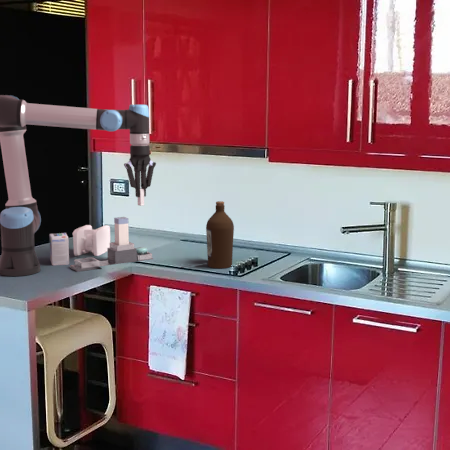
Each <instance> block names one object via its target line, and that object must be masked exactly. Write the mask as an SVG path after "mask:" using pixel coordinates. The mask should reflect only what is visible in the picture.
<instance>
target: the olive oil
mask: <svg viewBox="0 0 450 450" xmlns="http://www.w3.org/2000/svg"><path fill="white" fill-rule="evenodd" d="M205 230H206V231H205V233H206V248H207V249H206V250H207V252H206V254H207V266H208V267H209V268H211V269H221V270H222V269H228V268H231V267H232V266H233V251H234V235H235V234H234V231H235V225H234V222H233V220H232V218H231V217H230V216H229V215H228V214H227V213H226V211H225V201H222V200H221V201H220V200H219V201H216V202H215V212H214V213H213V214H212V215H211V216H210V217H209V218H208V220H207V222H206V225H205ZM231 265H232V266H231Z"/></svg>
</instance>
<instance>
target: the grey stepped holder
mask: <svg viewBox="0 0 450 450" xmlns="http://www.w3.org/2000/svg"><path fill="white" fill-rule="evenodd" d="M136 248H137V247H135V243H133V242H130V241H129V244H126V245H116V244H115V241H113V242H111V241H110V248H107V260H98V259H96V258H94V257H86V258H85V257H83V258H77V259H74V264H71V265H70V264H69V268H70V269H72V270H74V271H75V272H76V273H77V272H85V271H86V272H87V271H92V270H100V269H102V267H105V266H111V265H119V264H120V265H121V264H128V263H134V262H143V261H149V260H151V261H152V260H154V258H153V253H151V252H149V251H147V253H137V249H136Z"/></svg>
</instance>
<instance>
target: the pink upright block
mask: <svg viewBox="0 0 450 450" xmlns="http://www.w3.org/2000/svg"><path fill="white" fill-rule="evenodd" d="M113 219H114V242H115V244H116V245H126V244H129V242H130V241H129V239H130V237H129V236H130V235H129V218H128V217H125V216H119V217H113Z"/></svg>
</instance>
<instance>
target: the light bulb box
mask: <svg viewBox="0 0 450 450" xmlns="http://www.w3.org/2000/svg"><path fill="white" fill-rule="evenodd" d="M48 236H49V257H50V258H49V260H50V263H51V266H65V265H67V266H68V265H69V266H70V255H69V254H70V249H69V247H70V245H69V244H70V243H69V236H68V234H67V232H61V233H60V232H59V233H49V235H48Z"/></svg>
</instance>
